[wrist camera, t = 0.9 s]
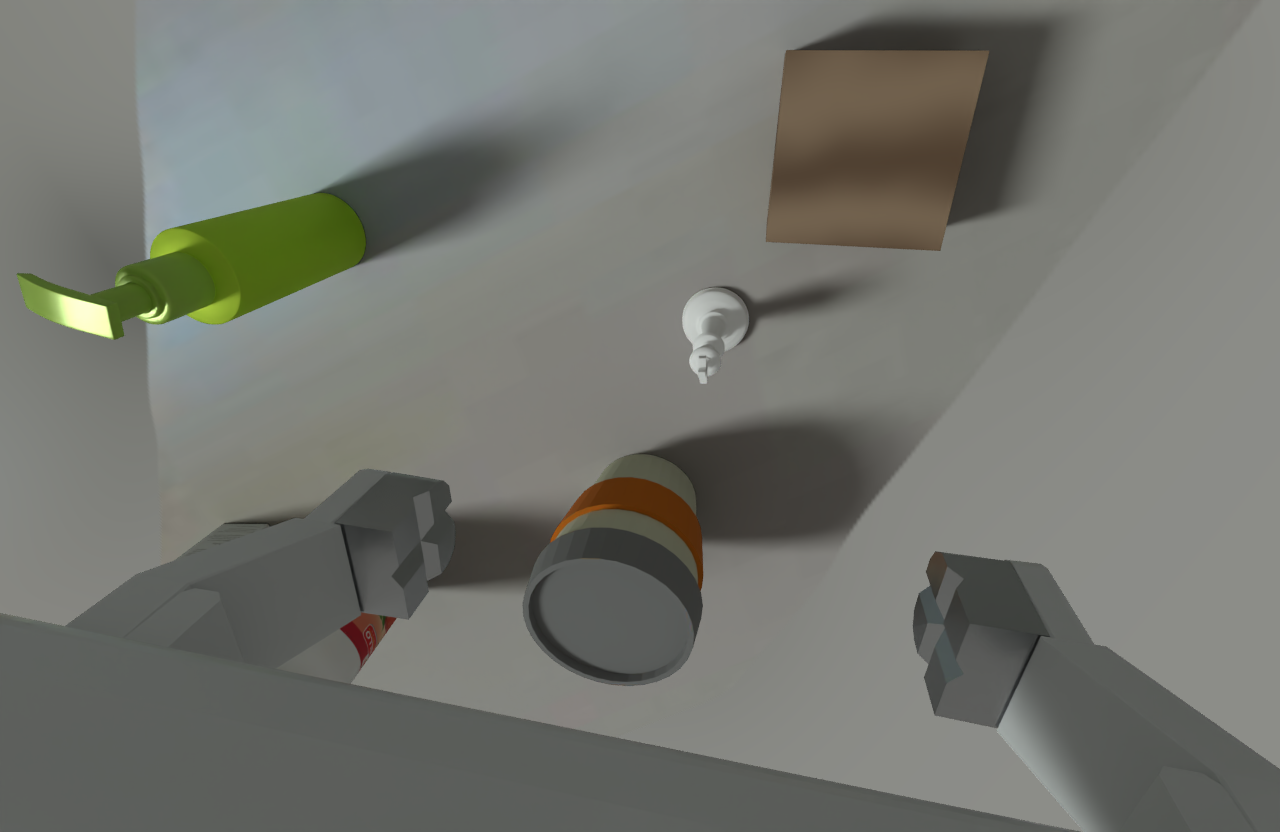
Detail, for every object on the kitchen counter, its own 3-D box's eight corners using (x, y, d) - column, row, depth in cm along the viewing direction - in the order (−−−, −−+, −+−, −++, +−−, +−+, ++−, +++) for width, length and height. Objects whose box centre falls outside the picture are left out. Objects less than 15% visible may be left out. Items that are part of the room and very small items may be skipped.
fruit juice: (362, 505, 62) (98, 777, 38) (441, 555, 63) (235, 849, 39) (333, 556, 66) (81, 827, 42) (407, 602, 68) (204, 891, 43)
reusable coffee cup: (745, 487, 52) (736, 621, 39) (668, 572, 58) (638, 712, 45) (620, 409, 50) (568, 522, 38) (555, 505, 57) (491, 629, 44)
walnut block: (785, 53, 36) (786, 50, 32) (962, 54, 35) (989, 50, 31) (766, 225, 41) (765, 241, 37) (922, 232, 40) (940, 250, 35)
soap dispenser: (282, 179, 46) (-7, 236, 29) (366, 205, 46) (124, 279, 29) (286, 253, 49) (26, 344, 32) (365, 278, 49) (145, 384, 32)
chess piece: (748, 285, 44) (741, 335, 35) (749, 349, 46) (744, 411, 37) (680, 288, 45) (657, 338, 36) (685, 351, 47) (665, 411, 38)
